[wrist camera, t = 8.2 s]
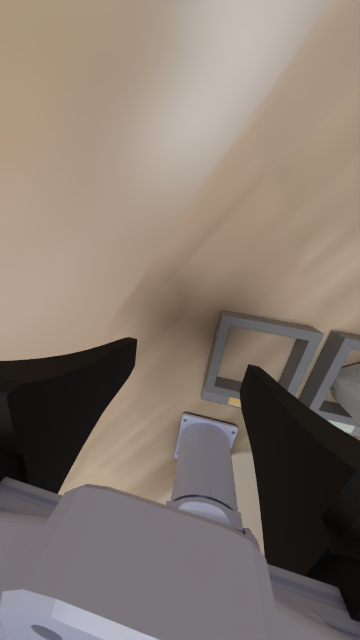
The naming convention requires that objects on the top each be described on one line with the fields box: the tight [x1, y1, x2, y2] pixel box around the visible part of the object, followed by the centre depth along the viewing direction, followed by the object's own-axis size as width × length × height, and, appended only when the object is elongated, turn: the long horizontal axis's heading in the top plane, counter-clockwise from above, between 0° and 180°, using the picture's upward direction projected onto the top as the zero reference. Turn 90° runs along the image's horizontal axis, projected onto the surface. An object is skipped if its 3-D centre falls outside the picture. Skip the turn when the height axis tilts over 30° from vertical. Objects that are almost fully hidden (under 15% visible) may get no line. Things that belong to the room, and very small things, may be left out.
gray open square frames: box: [201, 310, 360, 437], centre depth 20 cm, size 12×22×2 cm, turn 81°
